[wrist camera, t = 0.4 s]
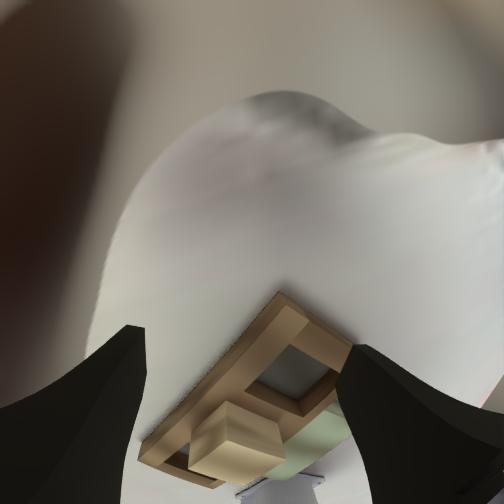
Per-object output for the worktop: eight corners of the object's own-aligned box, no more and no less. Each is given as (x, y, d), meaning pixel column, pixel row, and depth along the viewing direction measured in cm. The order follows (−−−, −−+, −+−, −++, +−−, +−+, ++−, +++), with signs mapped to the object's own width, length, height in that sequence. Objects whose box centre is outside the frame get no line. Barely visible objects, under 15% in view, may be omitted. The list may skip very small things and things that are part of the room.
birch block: (240, 451, 19) (243, 486, 15) (191, 432, 18) (187, 468, 14) (277, 422, 19) (286, 459, 15) (225, 400, 18) (227, 440, 14)
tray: (251, 483, 24) (253, 498, 22) (141, 443, 21) (137, 460, 19) (391, 369, 22) (404, 383, 19) (278, 291, 19) (286, 304, 16)
